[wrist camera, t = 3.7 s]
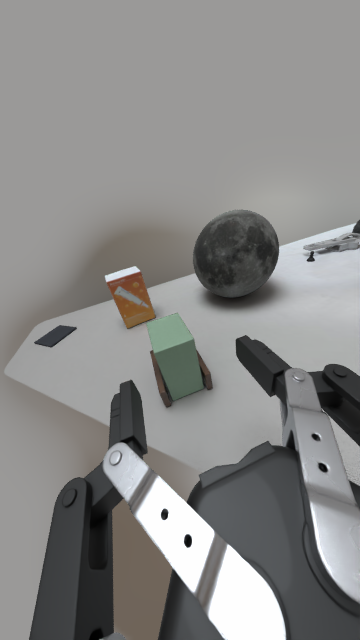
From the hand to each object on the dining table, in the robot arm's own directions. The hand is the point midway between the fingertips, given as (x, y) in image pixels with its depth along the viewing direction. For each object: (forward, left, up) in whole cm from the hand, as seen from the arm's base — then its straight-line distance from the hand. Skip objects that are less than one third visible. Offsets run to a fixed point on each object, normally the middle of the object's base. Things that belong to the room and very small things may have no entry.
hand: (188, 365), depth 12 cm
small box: (+23, +26, -14) cm, 37 cm away
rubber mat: (+12, +48, -14) cm, 51 cm away
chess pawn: (+61, -18, -14) cm, 65 cm away
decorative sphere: (+38, +3, -14) cm, 40 cm away
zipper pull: (+70, -25, -14) cm, 76 cm away
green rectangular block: (+8, +7, -14) cm, 17 cm away
